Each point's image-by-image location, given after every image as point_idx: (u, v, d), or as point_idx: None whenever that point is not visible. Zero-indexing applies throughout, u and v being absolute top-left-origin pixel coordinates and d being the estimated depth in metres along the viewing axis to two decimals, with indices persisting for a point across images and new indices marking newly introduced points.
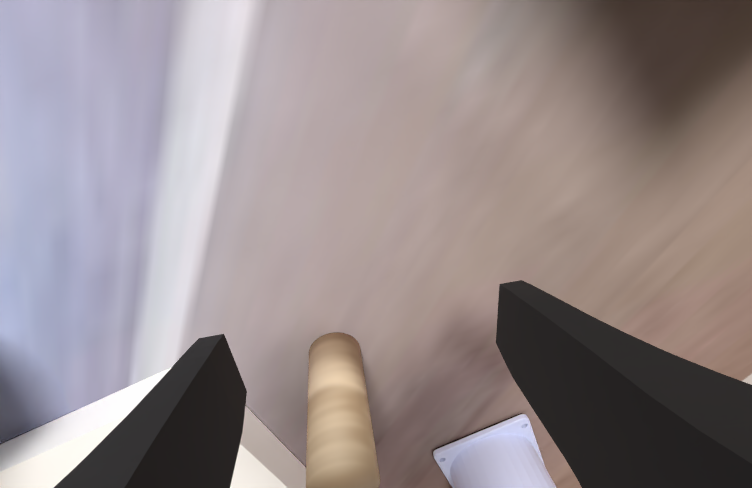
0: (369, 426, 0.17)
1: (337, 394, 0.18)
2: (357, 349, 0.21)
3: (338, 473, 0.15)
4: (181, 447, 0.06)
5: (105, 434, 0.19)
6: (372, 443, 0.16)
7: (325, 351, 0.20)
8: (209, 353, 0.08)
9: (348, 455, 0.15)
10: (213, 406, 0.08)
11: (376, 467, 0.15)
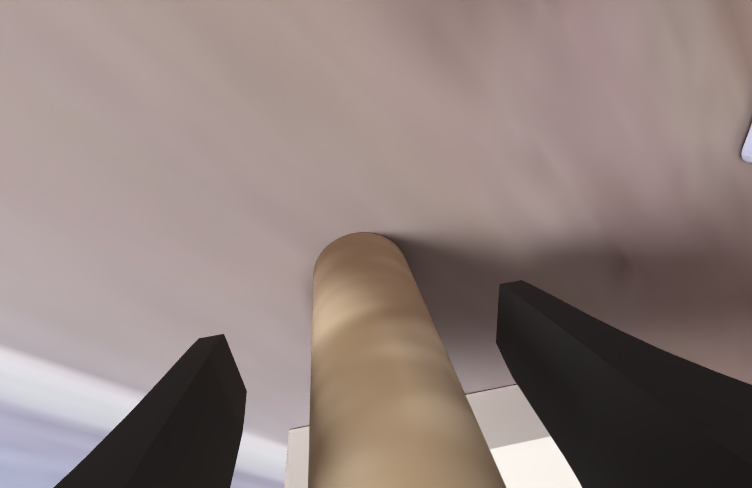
0: (378, 377, 0.06)
1: (312, 372, 0.08)
2: (350, 246, 0.11)
3: None
4: (181, 447, 0.06)
5: None
6: (387, 421, 0.05)
7: None
8: (209, 353, 0.08)
9: None
10: (213, 406, 0.08)
11: None
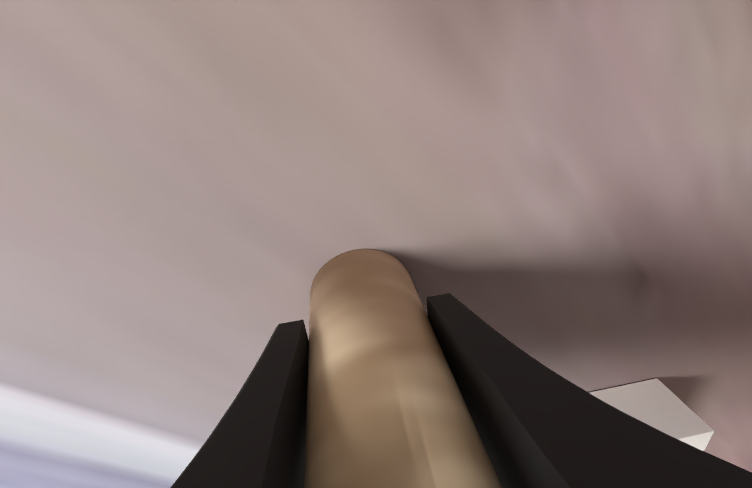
0: (384, 436, 0.05)
1: (307, 417, 0.07)
2: (350, 265, 0.10)
3: None
4: (290, 425, 0.06)
5: None
6: None
7: None
8: (298, 337, 0.08)
9: None
10: (304, 388, 0.08)
11: None
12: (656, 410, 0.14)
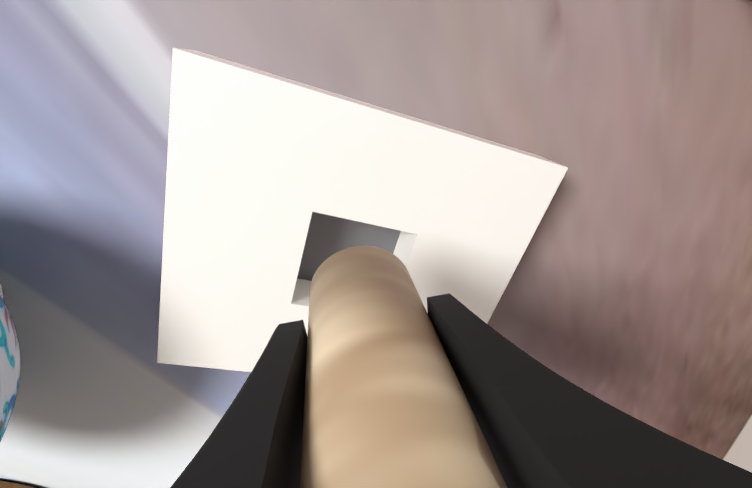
0: (380, 419, 0.05)
1: (305, 409, 0.07)
2: (348, 261, 0.10)
3: None
4: (290, 425, 0.06)
5: (181, 197, 0.14)
6: (392, 478, 0.04)
7: None
8: (298, 337, 0.08)
9: None
10: (304, 388, 0.08)
11: None
12: (530, 154, 0.16)
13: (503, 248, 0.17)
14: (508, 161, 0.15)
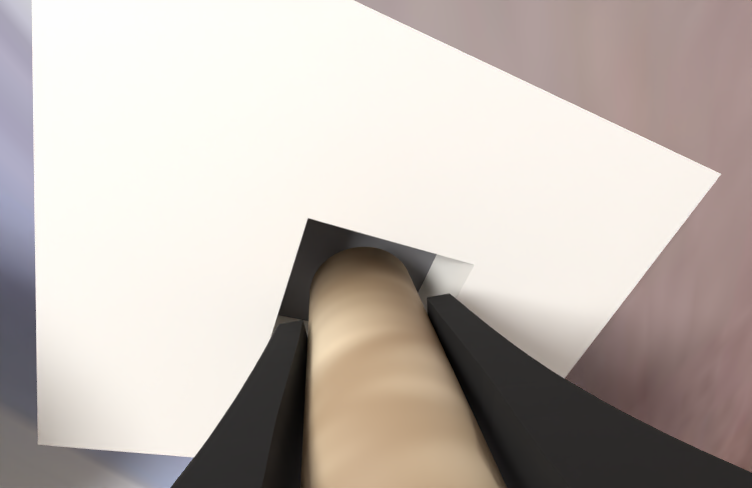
0: (380, 421, 0.05)
1: (305, 410, 0.07)
2: (348, 262, 0.10)
3: None
4: (290, 425, 0.06)
5: (67, 177, 0.07)
6: (392, 480, 0.04)
7: None
8: (298, 337, 0.08)
9: None
10: (304, 388, 0.08)
11: None
12: None
13: (597, 292, 0.11)
14: (636, 156, 0.09)
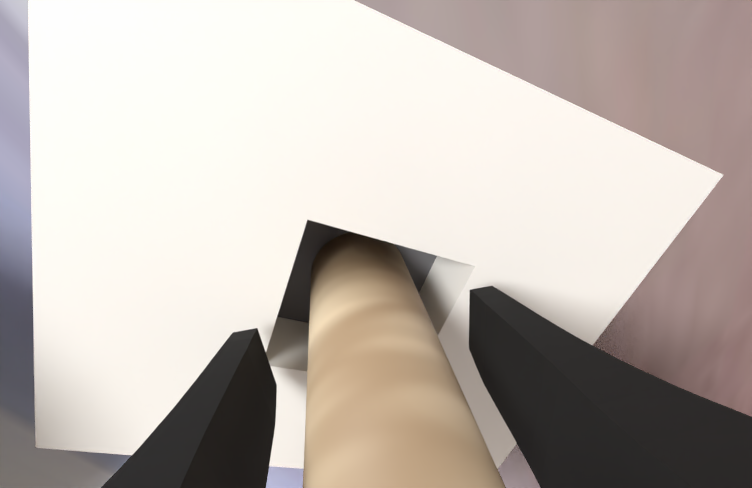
0: (372, 369, 0.06)
1: (308, 368, 0.08)
2: (346, 244, 0.11)
3: None
4: (227, 438, 0.06)
5: (64, 179, 0.07)
6: (381, 411, 0.05)
7: None
8: (247, 346, 0.08)
9: None
10: (251, 399, 0.08)
11: (395, 483, 0.04)
12: None
13: (598, 293, 0.11)
14: (638, 157, 0.09)
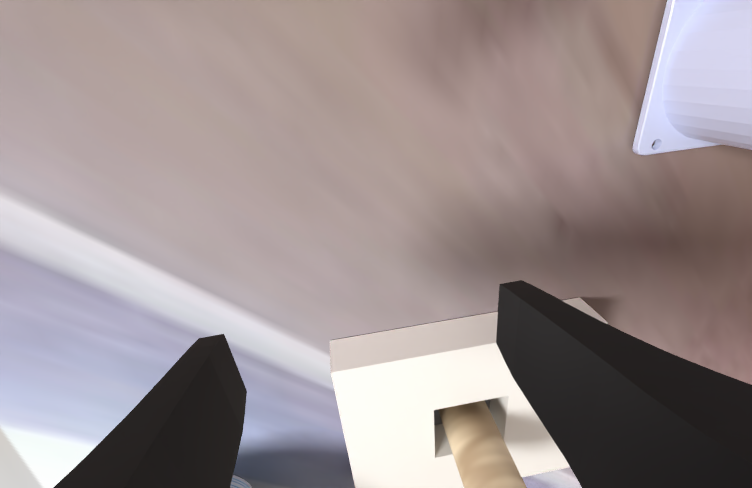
0: (480, 475, 0.19)
1: None
2: None
3: None
4: (181, 447, 0.06)
5: (353, 432, 0.21)
6: None
7: None
8: (209, 353, 0.08)
9: None
10: (213, 406, 0.08)
11: None
12: None
13: None
14: None
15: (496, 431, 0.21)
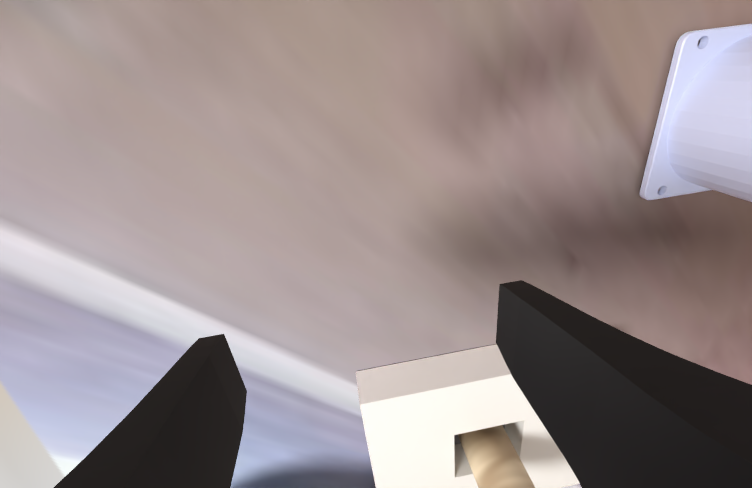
0: None
1: None
2: None
3: None
4: (181, 447, 0.06)
5: (379, 456, 0.23)
6: None
7: (463, 447, 0.25)
8: (209, 353, 0.08)
9: None
10: (213, 406, 0.08)
11: None
12: None
13: None
14: None
15: (514, 453, 0.23)
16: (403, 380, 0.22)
